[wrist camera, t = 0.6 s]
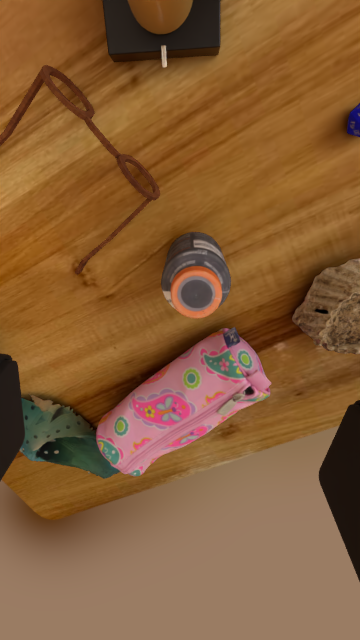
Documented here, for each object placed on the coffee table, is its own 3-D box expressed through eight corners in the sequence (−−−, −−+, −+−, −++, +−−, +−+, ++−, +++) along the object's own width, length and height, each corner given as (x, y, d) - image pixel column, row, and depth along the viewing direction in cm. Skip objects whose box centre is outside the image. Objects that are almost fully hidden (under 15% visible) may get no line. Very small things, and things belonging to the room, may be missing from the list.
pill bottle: (176, 290, 36) (169, 338, 26) (160, 239, 34) (146, 269, 24) (227, 277, 35) (241, 321, 25) (215, 224, 33) (225, 248, 23)
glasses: (164, 191, 32) (160, 195, 27) (79, 274, 36) (62, 288, 31) (63, 70, 28) (39, 50, 23) (-20, 177, 32) (-55, 178, 27)
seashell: (278, 293, 39) (320, 365, 38) (274, 295, 32) (324, 383, 32) (372, 242, 35) (421, 322, 34) (389, 233, 28) (450, 332, 28)
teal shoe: (98, 486, 50) (89, 517, 46) (-6, 407, 45) (-30, 433, 41) (140, 456, 48) (134, 486, 43) (34, 369, 43) (14, 392, 38)
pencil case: (228, 308, 37) (238, 347, 29) (272, 360, 40) (293, 410, 31) (100, 399, 43) (79, 452, 35) (146, 439, 46) (135, 497, 38)
